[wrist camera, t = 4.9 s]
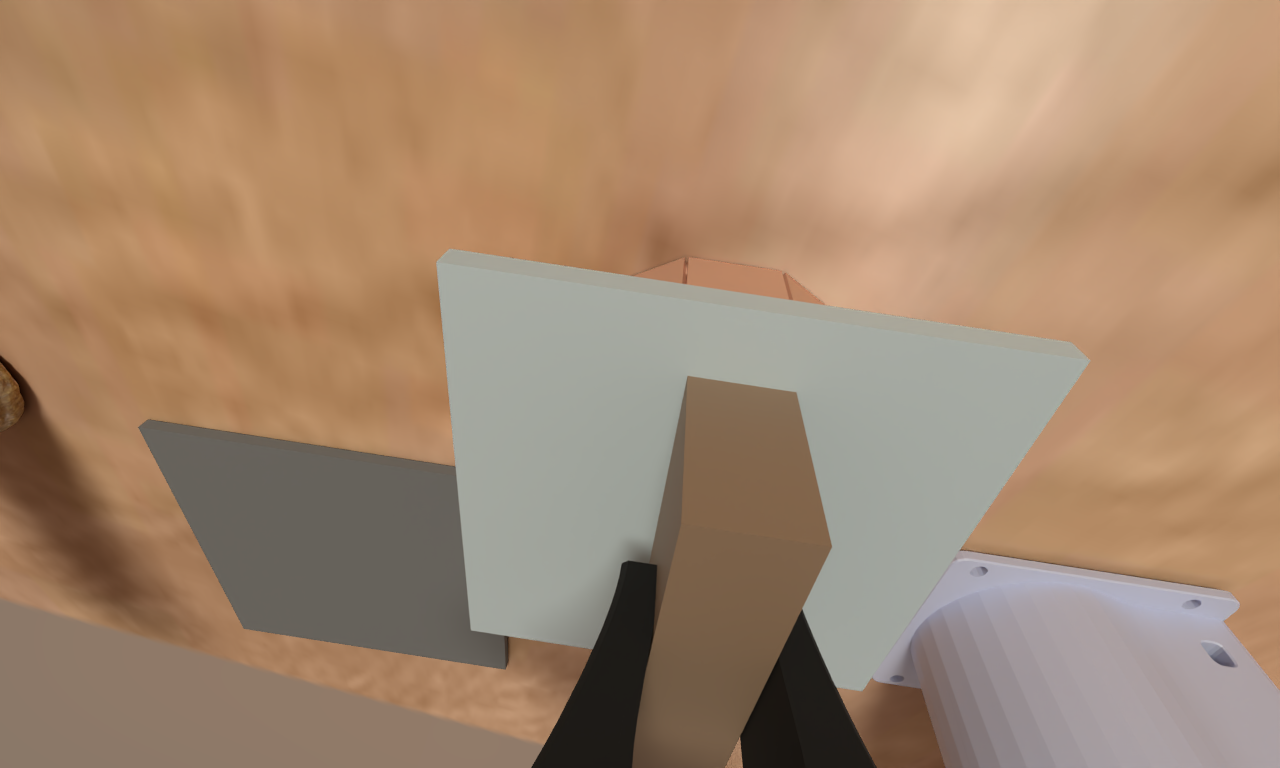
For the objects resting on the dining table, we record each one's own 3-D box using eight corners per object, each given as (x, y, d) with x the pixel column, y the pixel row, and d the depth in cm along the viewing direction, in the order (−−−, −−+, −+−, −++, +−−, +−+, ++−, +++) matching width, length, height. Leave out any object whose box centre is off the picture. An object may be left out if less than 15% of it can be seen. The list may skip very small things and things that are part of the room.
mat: (501, 474, 19) (497, 482, 19) (508, 661, 26) (505, 669, 26) (147, 419, 19) (137, 427, 19) (249, 620, 26) (243, 628, 26)
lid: (1071, 342, 10) (1259, 522, 7) (857, 670, 16) (897, 847, 13) (449, 248, 10) (320, 378, 7) (477, 611, 16) (419, 771, 13)
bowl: (917, 291, 14) (982, 386, 11) (809, 531, 19) (831, 644, 16) (553, 236, 14) (507, 313, 11) (545, 491, 19) (513, 594, 16)
